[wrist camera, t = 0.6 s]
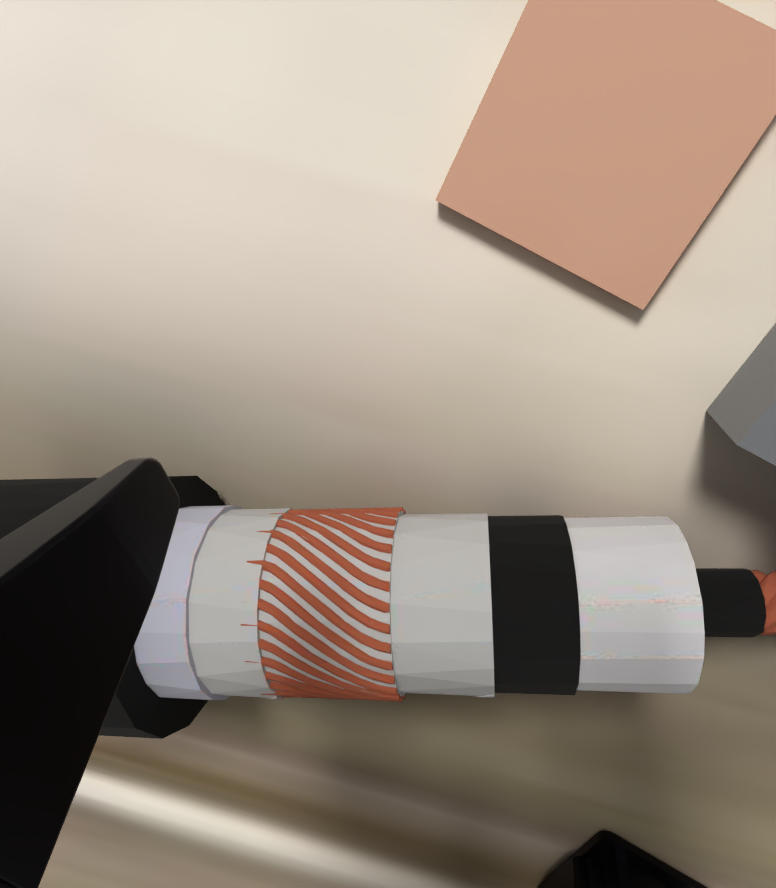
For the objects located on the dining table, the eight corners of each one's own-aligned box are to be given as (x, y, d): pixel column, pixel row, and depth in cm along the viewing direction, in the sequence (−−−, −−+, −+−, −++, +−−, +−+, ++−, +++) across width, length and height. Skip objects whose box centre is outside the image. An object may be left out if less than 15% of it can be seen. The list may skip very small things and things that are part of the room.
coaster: (809, 57, 16) (818, 51, 16) (640, 307, 20) (643, 310, 19) (563, -66, 17) (563, -76, 16) (438, 200, 20) (435, 200, 20)
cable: (742, 553, 27) (840, 807, 20) (83, 557, 32) (-18, 757, 25) (834, 393, 19) (1042, 708, 12) (-41, 433, 25) (-231, 668, 18)
